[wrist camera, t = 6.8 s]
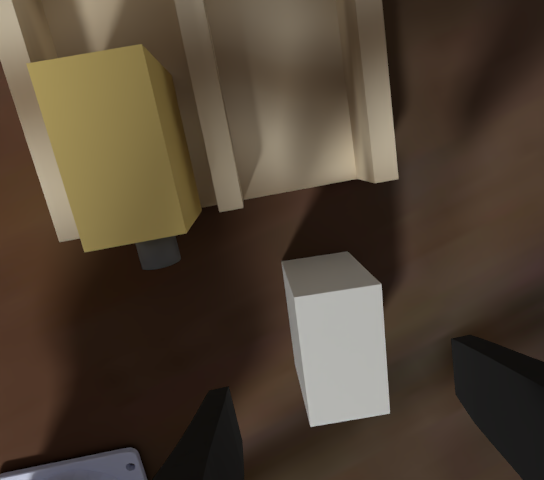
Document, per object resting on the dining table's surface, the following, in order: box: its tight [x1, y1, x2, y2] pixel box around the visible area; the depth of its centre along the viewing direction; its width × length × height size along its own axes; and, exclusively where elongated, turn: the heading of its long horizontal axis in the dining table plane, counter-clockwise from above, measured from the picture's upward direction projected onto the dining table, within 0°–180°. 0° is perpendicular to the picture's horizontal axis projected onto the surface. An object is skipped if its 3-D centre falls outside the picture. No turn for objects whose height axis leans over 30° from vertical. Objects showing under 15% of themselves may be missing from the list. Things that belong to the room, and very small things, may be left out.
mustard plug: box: [26, 44, 202, 270], centre depth 15 cm, size 8×4×5 cm, turn 10°
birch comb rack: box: [0, 0, 398, 242], centre depth 16 cm, size 11×15×3 cm
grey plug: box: [281, 251, 390, 427], centre depth 18 cm, size 8×4×5 cm, turn 8°
